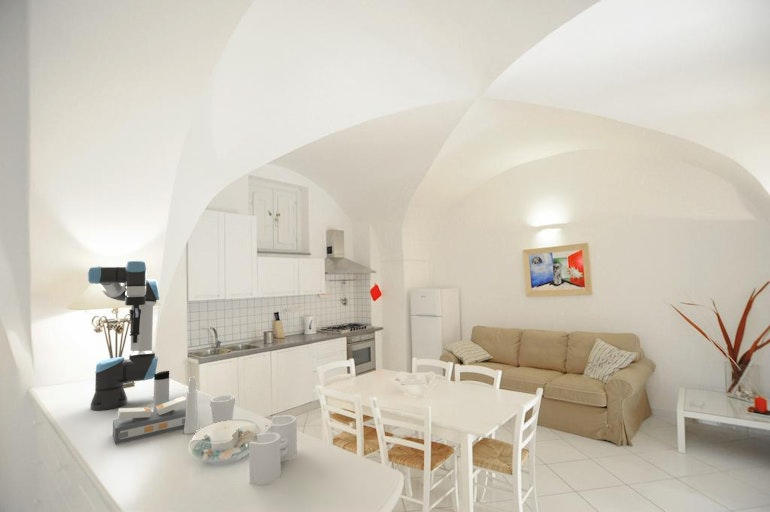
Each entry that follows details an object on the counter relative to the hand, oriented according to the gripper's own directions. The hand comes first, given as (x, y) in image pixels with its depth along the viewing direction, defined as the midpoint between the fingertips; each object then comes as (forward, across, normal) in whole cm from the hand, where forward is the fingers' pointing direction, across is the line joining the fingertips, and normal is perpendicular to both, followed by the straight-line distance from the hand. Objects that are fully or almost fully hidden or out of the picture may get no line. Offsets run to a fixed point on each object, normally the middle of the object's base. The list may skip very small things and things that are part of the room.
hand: (134, 350), depth 166 cm
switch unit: (+32, +12, +6) cm, 35 cm away
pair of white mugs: (+33, +75, +32) cm, 88 cm away
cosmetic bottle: (+33, +24, +18) cm, 44 cm away
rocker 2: (+25, +12, +13) cm, 30 cm away
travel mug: (+33, -8, +12) cm, 36 cm away
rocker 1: (+25, +12, -1) cm, 28 cm away
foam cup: (+33, +32, +28) cm, 54 cm away
